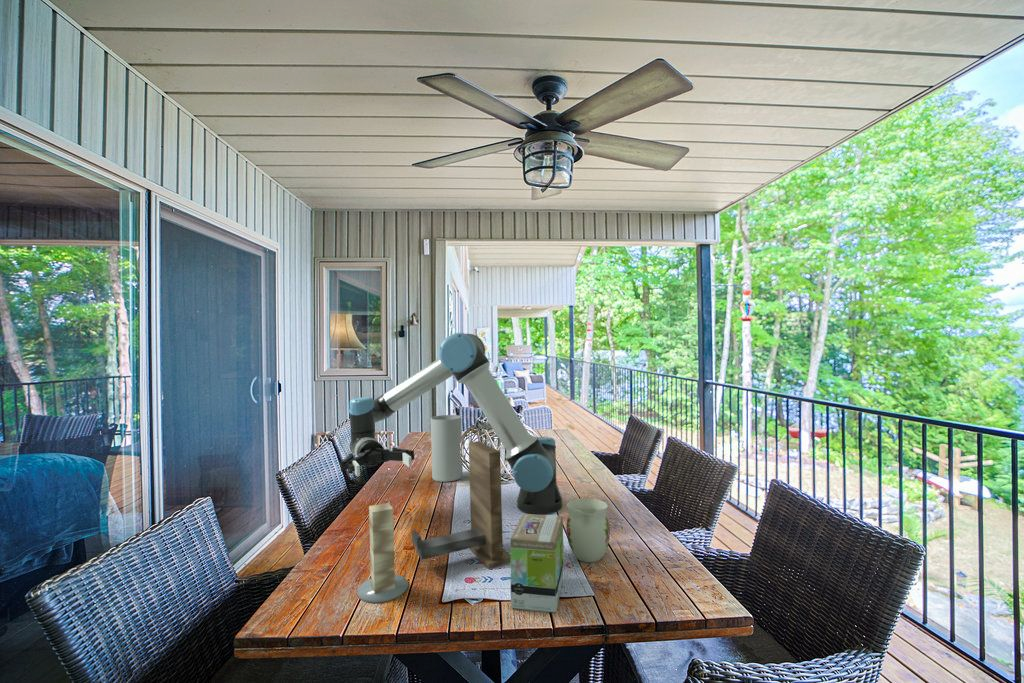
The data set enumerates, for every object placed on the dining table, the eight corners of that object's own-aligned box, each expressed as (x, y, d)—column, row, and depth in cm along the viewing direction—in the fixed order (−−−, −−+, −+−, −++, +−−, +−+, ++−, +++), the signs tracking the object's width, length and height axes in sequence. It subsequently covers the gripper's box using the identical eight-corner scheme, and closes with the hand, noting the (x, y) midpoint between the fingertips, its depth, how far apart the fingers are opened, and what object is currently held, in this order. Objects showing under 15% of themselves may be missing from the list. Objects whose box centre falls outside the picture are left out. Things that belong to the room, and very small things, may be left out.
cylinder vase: (460, 482, 184) (459, 419, 184) (429, 482, 184) (427, 420, 184) (464, 473, 196) (462, 414, 196) (435, 473, 196) (433, 415, 196)
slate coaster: (408, 574, 111) (408, 571, 111) (407, 598, 101) (407, 596, 101) (360, 580, 109) (360, 577, 109) (354, 606, 98) (354, 603, 98)
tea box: (558, 614, 94) (556, 541, 94) (509, 609, 96) (507, 538, 96) (564, 576, 108) (563, 513, 108) (522, 573, 110) (521, 511, 110)
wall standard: (488, 538, 130) (485, 439, 130) (513, 562, 116) (510, 450, 116) (407, 557, 120) (404, 450, 120) (424, 586, 106) (421, 464, 106)
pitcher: (606, 539, 127) (605, 490, 127) (613, 572, 110) (612, 514, 110) (566, 539, 129) (565, 489, 129) (567, 571, 111) (565, 514, 111)
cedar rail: (390, 579, 108) (388, 502, 108) (395, 588, 104) (393, 508, 104) (371, 584, 106) (369, 506, 106) (374, 593, 102) (372, 512, 102)
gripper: (410, 457, 147) (430, 472, 128) (326, 471, 135) (335, 489, 116) (408, 433, 147) (429, 445, 128) (325, 445, 135) (334, 460, 116)
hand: (384, 466), depth 122 cm, fingers open, 13 cm apart
